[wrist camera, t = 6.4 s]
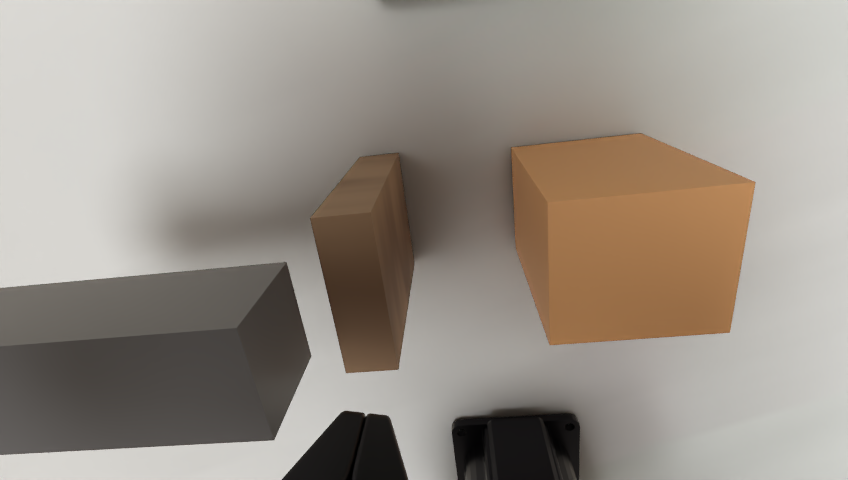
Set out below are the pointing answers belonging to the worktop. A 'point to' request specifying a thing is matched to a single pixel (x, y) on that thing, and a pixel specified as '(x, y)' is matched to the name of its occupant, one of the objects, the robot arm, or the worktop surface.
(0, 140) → the worktop surface
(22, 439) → the dark gray block
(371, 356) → the wood grain block
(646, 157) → the orange brown block
